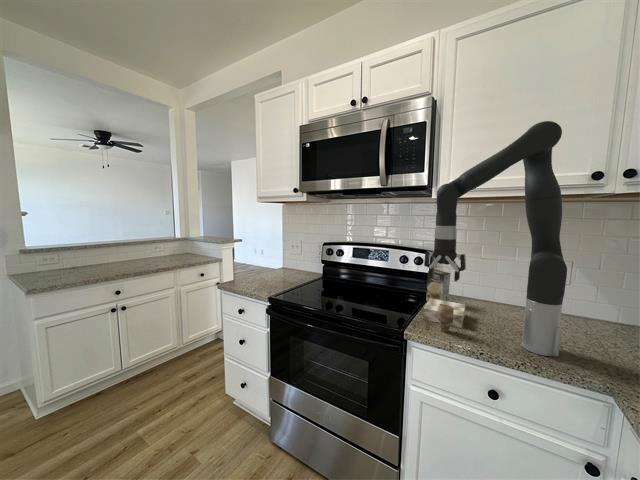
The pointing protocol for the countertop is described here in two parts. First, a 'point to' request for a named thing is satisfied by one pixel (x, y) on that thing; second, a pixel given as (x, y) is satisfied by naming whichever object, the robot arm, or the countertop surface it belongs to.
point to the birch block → (459, 309)
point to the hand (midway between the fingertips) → (443, 279)
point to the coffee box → (438, 286)
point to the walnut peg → (445, 317)
